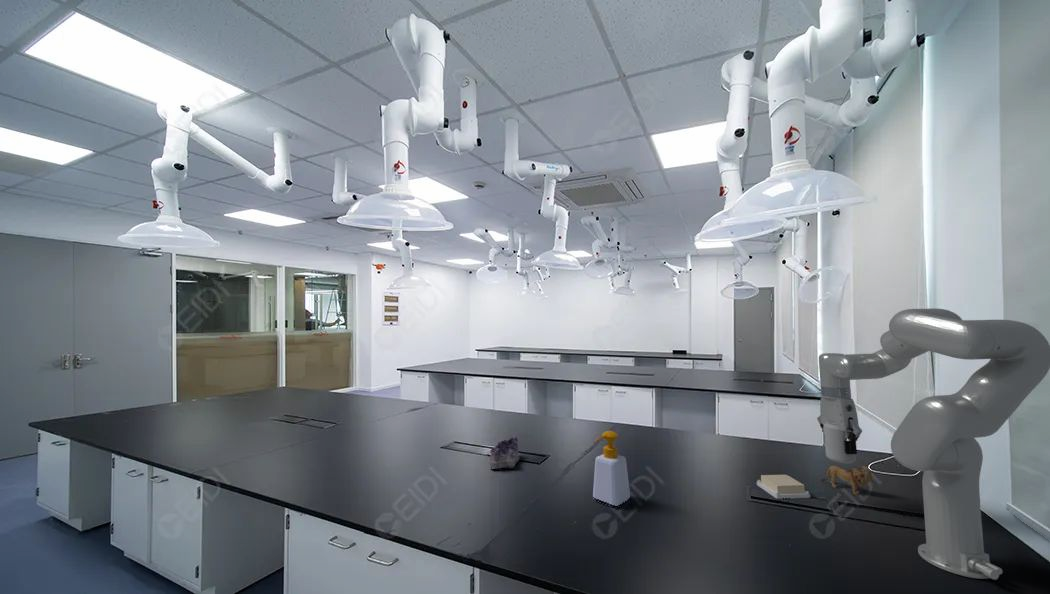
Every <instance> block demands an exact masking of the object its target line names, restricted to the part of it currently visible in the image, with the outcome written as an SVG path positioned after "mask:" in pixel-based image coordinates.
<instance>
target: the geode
mask: <svg viewBox="0 0 1050 594" xmlns="http://www.w3.org/2000/svg"><path fill="white" fill-rule="evenodd" d="M518 441H519V440H518V438H517V437H514V438H513V437H510V438H509V439H507V440H506V439H504V440H502V441H498V442H497V444H496V446H494V447H492V448H491V449H490V457H489V461H488V463H489V468H490V467H491V468H493V469H496V470H497V469H499V470H501V469H500V468H506V469H505V470H507V468H509V469H510V470H511V469H515V467H516V465H517V464H518V463H519V462H520V461H519V459H521V458H520V455H519V444H518ZM518 461H519V462H518ZM517 462H518V463H517ZM491 468H490V469H491Z"/></svg>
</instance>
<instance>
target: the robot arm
mask: <svg viewBox="0 0 1050 594" xmlns="http://www.w3.org/2000/svg"><path fill="white" fill-rule="evenodd" d="M888 329H889V330H887V331H885V332H884V333H882V335H881V336H880V338H879V339H880V340H879V344H880V346H881V349H879V350H878V351H875V352H872V353H853V354H852V353H850V354H844V353H832V352H828V353H827V352H825V353H820V354H819V356H818V369H819V383H820V408H819V412H820V414H819V416H818V417H816V419H817V422H818V424H819V426H820V428H821V432H822V434H824V425H825V424H826V421H828V422H830V423H836V426H837V427H838V428H839V429H840V431H842V432H843V435H844V437H845V439H846V440H844V446H845V453H846V454H856V455H857V454H858V451H857V441H858V440H859V438H860V436H861V434H863V433H862V432H863V429H862V428H861V427H860V425H859V424H860V423H859V418H858V412H857V408H856V403H855V401H854V399H853V398H852V391H851V381H855V380H856V381H857V380H877V379H883V378H886V377H888V376H890V375H891V376H892V375H894V374H895V373H899V372H900V371H902V370H905V369H906V368H907V367H908V366H909V365H910V363H911V362H912V360H913V359H914V358H917V357H919V356H922V355H923V354H926V353H928V352H932V353H935V354H940V355H942V356H946V357H950V358H955V359H958V360H959V359H960V360H969V361H971V360H989V361H988V362H987V363H985V364H984V365H983V366H981V367H980V368H978V369H977V370H976V371H974V373H972V374H971V375H970V377H969V378H968V379H967V381H966V382H965V384H964V385H963V386H962V387H961V388H960V389H959V390H958V391H956V392H955V393H952V394H940V395H931V396H928V397H924V398H922V399H921V400H919V401H918V402H916V403H915V404H914V405H913V407H911V409H910V410H909V411H908V413H907V414H906V416H905V417H904V419H903V420H902V421H901V422H900V424H899V425H898V427H897V429H896V430H895V431H894V433H893V435H892V437H891V441H890V451H891V454H892V455H893V457H894V458H895V460H896V461H897V462H898V463H899V464H900V465H902V466H903V467H904V468H907V469H909V470H913V471H918V472H923V474H922V475H923V476H922V481H921V483H922V486H921V487H922V497H923V498H922V499H923V500H922V501H923V513H924V525H925V526H924V528H925V541H926V542H925V543H922V544H920V545H918V547H917V551H918V552H917V553H918V554H919V556H920V557H921V558H922V559H923V560H925V562H928V563H929V564H931V565H933V566H934V567H937V568H939V569H941V570H943V571H946V572H948V573H952V574H954V575H959V576H962V577H967V578H970V579H978V580H986V579H987V580H989V579H992V580H993V581H994V580H998V578H999V577H1000V575H1002V574H1003V569H1002V568H1001V567H999V566H996V565H995V564H992V563H991V559H990V554H988V553H986V552H985V550H984V549H985V547H984V539H983V538H984V536H983V524H982V511H981V494H980V479H981V478H980V476H981V471H982V466H983V459H984V458H983V457H984V455H983V450H982V447H981V444H979V442H978V440H977V438H985V437H990V436H992V435H994V434H995V433H997V432H998V431H999V430H1000V429H1001V428H1002V426H1003V425H1004V424H1005V423H1006V421H1008V419H1009V418H1010V417H1011V416H1012V415H1013V414H1014V412H1016V410H1017V409H1018V408H1019V407H1020V405H1021V404H1023V402H1024V400H1025V399H1026V398H1027V397H1028V396H1029V395H1030V394H1031V393H1032V391H1034V390H1035V388H1036V387H1037V386H1038V385H1040V383H1041V382H1042V380H1044V378H1045V377H1046V375H1047V374H1048V373H1049V370H1050V343H1049V341H1048V339H1047V338H1046V336H1044V334H1043V333H1042V332H1041V331H1039V329H1037V328H1036V327H1034V326H1032V325H1030V324H1028V323H1025V322H1022V321H1018V320H1011V319H969V320H968V319H966V320H965V319H964V320H963V319H962V318H961V316H960V315H958V314H956V313H955V312H954V311H951V310H948V309H944V308H937V307H936V308H933V307H932V308H908V309H904V310H900V311H898V312H896V313H895V314H894V315H893V316H892V317H891V319H890V320H889V323H888ZM847 428H850V429H851V430H846V429H847ZM847 432H851V434H850V436H849V435H848V433H847ZM823 442H824V445H825V436H824V435H823Z"/></svg>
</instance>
